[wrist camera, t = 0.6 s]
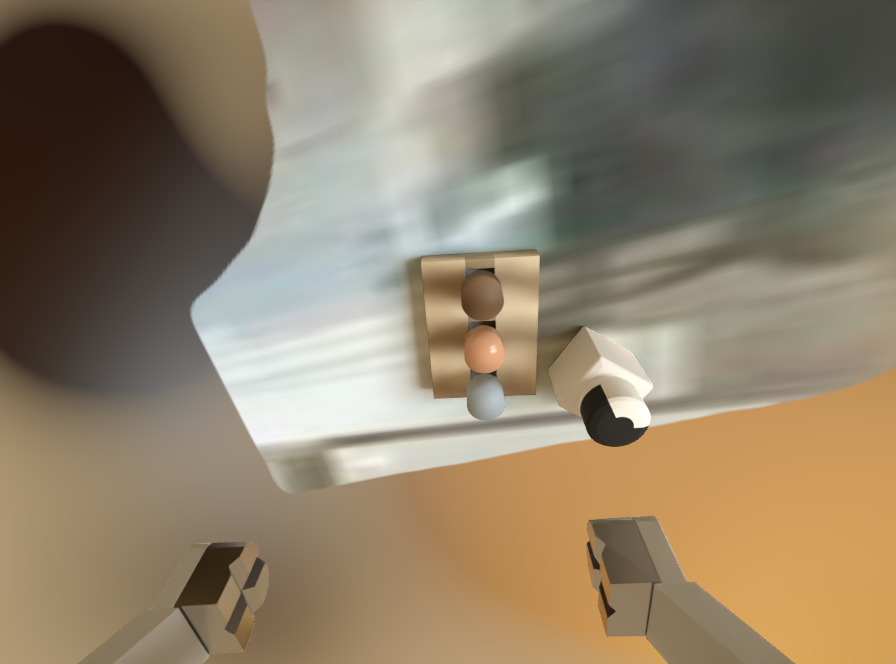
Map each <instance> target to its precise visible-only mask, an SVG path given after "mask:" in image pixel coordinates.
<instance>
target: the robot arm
mask: <svg viewBox="0 0 896 664" xmlns="http://www.w3.org/2000/svg"><path fill="white" fill-rule="evenodd" d="M587 532H588V536H589V539H590V541H589V542H588V543H587V562H588V568H589V573H590V578H591V581H592V585H593V587H594V588H595V589H596V590H597V591H598V592H599V597H598V607H599V611H600V615H601V618H602V621H603V625H604V629H605V632H606V636H646V638H647V640H648V641H649V642H650V643H651V644H652V645H653V646H654V648H655V649H656V650H657V651H658V652H659V653H660V654H661V656H662V657H663V658H664V659H665V660H666V661H667V662H668V664H795V663H794V662H793V661H791V660H790V659H789V658H788V657H786V656H785V655H784V654H783V653H781V652H780V651H779V650H778V649H777V648H775V647H774V646H773V645H772V644H770V643H769V642H768V641H767V640H766V639H764V638H763V637H762V636H761V635H759V634H758V633H757V632H755V631H754V630H753V629H752V628H751V627H750V626H748V625H747V624H746V623H745V622H743V621H742V620H741V619H740V618H738V617H737V616H736V615H735V614H734V613H732V612H731V611H730V610H729V609H727V608H726V607H725V606H724V605H722V604H721V603H720V602H719V601H717V600H716V599H715V598H714V597H713V596H711V595H710V594H709V593H708V592H706V591H705V590H704V589H703V588H701V587H700V586H699V585H698V584H697V583H695V582H687V580H686V578H685V576H684V574H683V571H682V570H681V567H680V565H679V563H678V561H677V559H676V557H675V555H674V553H673V550H672V548H671V546H670V544H669V542H668V540H667V538H666V536H665V533H664V531H663V529H662V527H661V525H660V523H659V521H658V519H657V518H656V517H654V516H646V517H632V518H631V517H622V518H609V519H596V520H589V521H588V523H587ZM259 551H260V550H259V548H258V546H257V544H256V542H255V541H252V542H220V543H198V544H193V545H191V546H190V547H189V548H188V549H187V550H186V551H185V553H184V555H183V556H182V558H181V560H180V561H179V563H178V565H177V566H176V568H175V570H174V571H173V573H172V575H171V576H170V578H169V580H168V581H167V583H166V584H165V586H164V588H163V589H162V591H161V593H160V594H159V596H158V598H157V599H156V601H155V602H154V604H153V606H152V607H151V609H145V610H143V611H142V612H141V613H140V614H139V615H137V616H136V617H135V618H133V619H132V620H131V621H130V622H129V623H127V624H126V625H125V626H124V627H122V628H121V629H120V630H119V631H117V632H116V633H115V634H114V635H113V636H111V637H110V638H109V639H108V640H106V641H105V642H104V643H103V644H101V645H100V646H99V647H98V648H97V649H95V650H94V651H93V652H92V653H90V654H89V655H88V656H87V657H86V658H84V659H83V660H82V661H81V662H80V663H78V664H203V663H204V662H205V661H206V660H207V658H208V657H209V655H208V654H219V653H233V652H244V651H245V648H246V645H247V643H248V640H249V638H250V635H251V633H252V630H253V627H254V625H255V623H256V621H255V618H254V614H253V613H254V612H255V610H257V609H258V608H259V607H260V606H261V604H263V602H264V599H265V596H266V594H267V590H268V583H269V572H268V568H267V565H266V563H265V562H264V561H263V560H261V559H260V558H258V557H257V555H258V553H259Z"/></svg>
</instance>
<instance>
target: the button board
mask: <svg viewBox="0 0 896 664" xmlns="http://www.w3.org/2000/svg"><path fill="white" fill-rule="evenodd" d="M539 258H540V256H539V254H538V251H537V250H522V251H504V252H486V253H468V254H450V255H432V256H422V259H421V270H422V281H423V291H424V301H425V311H426V321H427V331H428V342H429V352H430V362H431V372H432V382H433V392H434V399H437V398H463V397H467V385H468V383H469V381H470V380H471V369H470V368H469V367H468V366H467V364H466V362H465V358H464V339H465V336H466V334H467V333H468V332H469V327H468V322H472V321H478V320H474V319H472V318H470V317H469V316H468V315H467V314H466V313H465V312H464V310H463V308H462V304H461V287H462V283H463V281H464V279H465V278H466V269H479V268H494V275H495V276H496V277H497V278H498V279H499V281H500V283H501V287H502V292H503V297H504V305H503V308H502V310H501V312H500V313H499V314H498V315H497V316H496V317H494V318H492V319H490V320H486V321H493V320H495V329H496V330H497V331H498V332H499V333H500V335H501V337H502V343H503V349H504V361H503V363H502V365H501V366H500V367H499V368H498V369H497V370H496V377H497V378H498V379H499V380H500V381H501V383H502V386H503V393H504V396H514V395H536V365H537V329H538V294H539Z"/></svg>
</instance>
